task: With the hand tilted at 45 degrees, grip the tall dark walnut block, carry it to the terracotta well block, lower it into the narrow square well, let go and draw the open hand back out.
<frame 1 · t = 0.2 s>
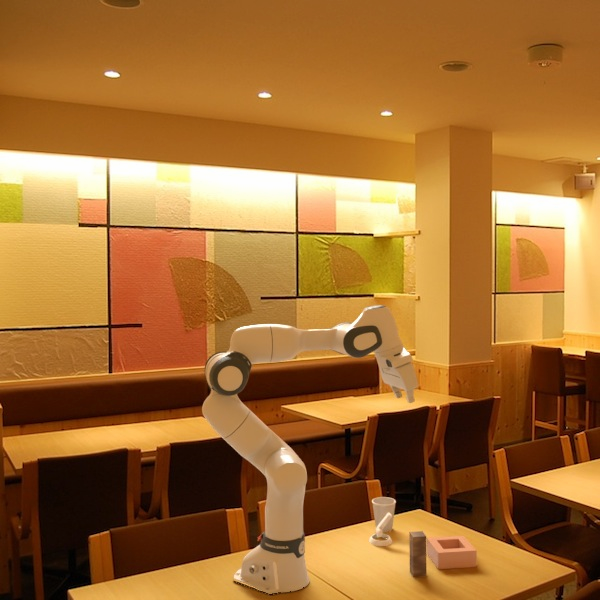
hand: (405, 399, 210), 51 cm above the table, tool tilted 20°, fingers open, 8 cm apart
white lever: (380, 542, 233), on the table
terracotta well: (451, 559, 218), on the table
walnut block: (418, 573, 208), on the table
dixie cup: (384, 529, 244), on the table
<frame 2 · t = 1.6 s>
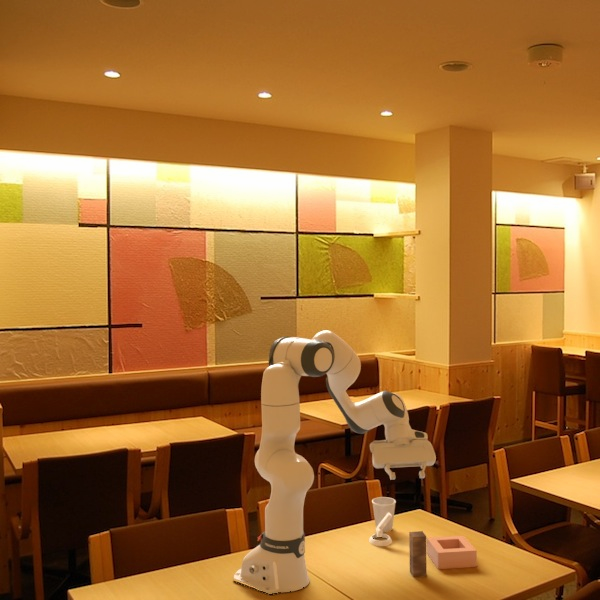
hand: (407, 478, 220), 25 cm above the table, tool tilted 45°, fingers open, 8 cm apart
nothing on the table moved.
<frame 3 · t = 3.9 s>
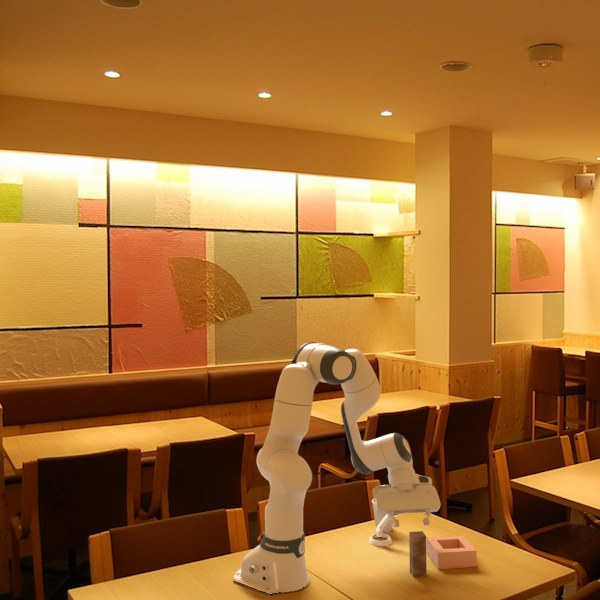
hand: (411, 525, 214), 12 cm above the table, tool tilted 45°, fingers open, 8 cm apart
nothing on the table moved.
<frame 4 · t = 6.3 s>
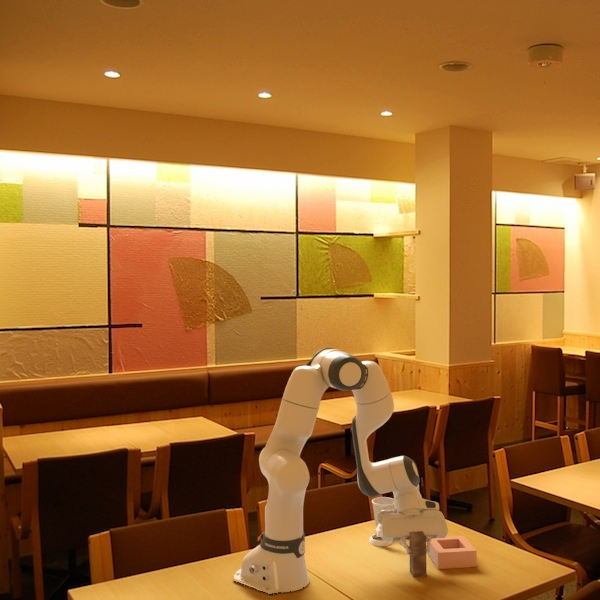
hand: (418, 552, 207), 7 cm above the table, tool tilted 45°, fingers closed on walnut block, 4 cm apart
walnut block: (418, 573, 208), on the table, touching gripper
everything else where it was.
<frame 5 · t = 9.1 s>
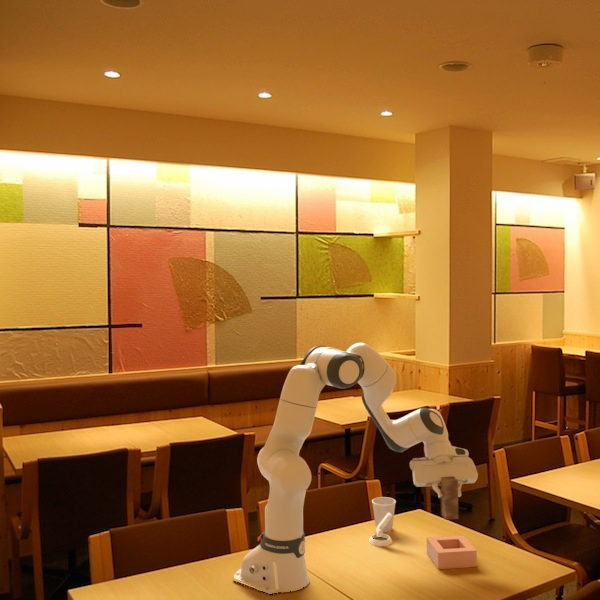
hand: (450, 496, 216), 20 cm above the table, tool tilted 45°, fingers closed on walnut block, 4 cm apart
walnut block: (450, 516, 217), point 14 cm above the table, touching gripper
everything else where it was.
when the fingers open (9 cm above the table, at t = 12.2 s): walnut block drops 1 cm, resting on terracotta well.
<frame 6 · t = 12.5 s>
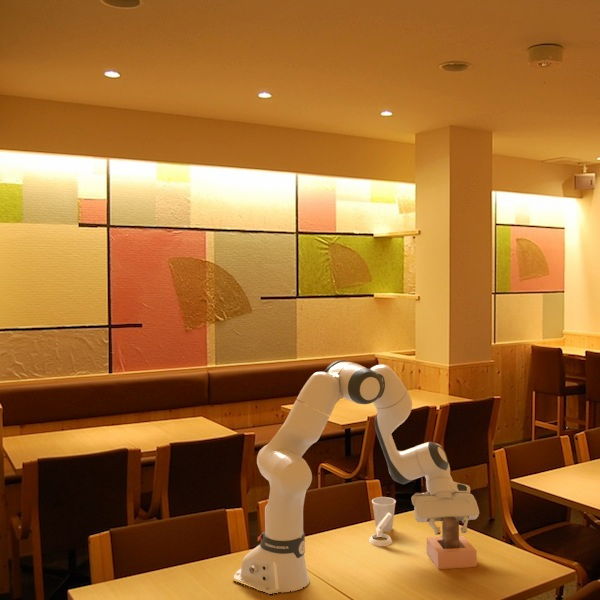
hand: (451, 533, 217), 9 cm above the table, tool tilted 45°, fingers open, 7 cm apart
walnut block: (450, 557, 218), point 1 cm above the table, touching terracotta well
everything else where it was.
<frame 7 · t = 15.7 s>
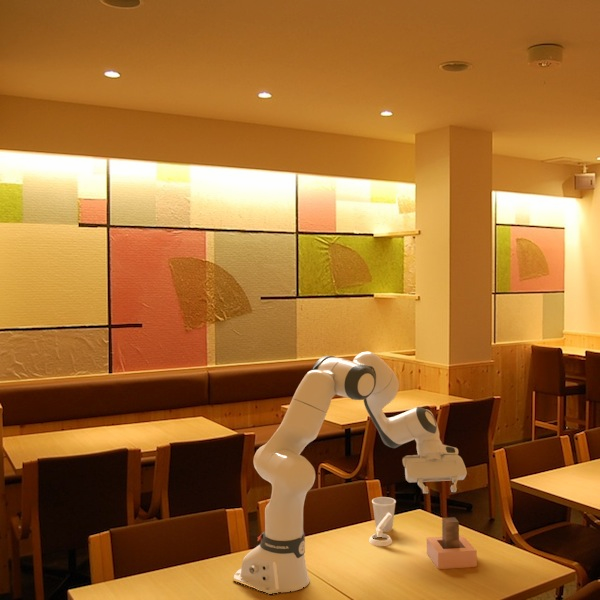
hand: (440, 492, 228), 18 cm above the table, tool tilted 45°, fingers open, 8 cm apart
nothing on the table moved.
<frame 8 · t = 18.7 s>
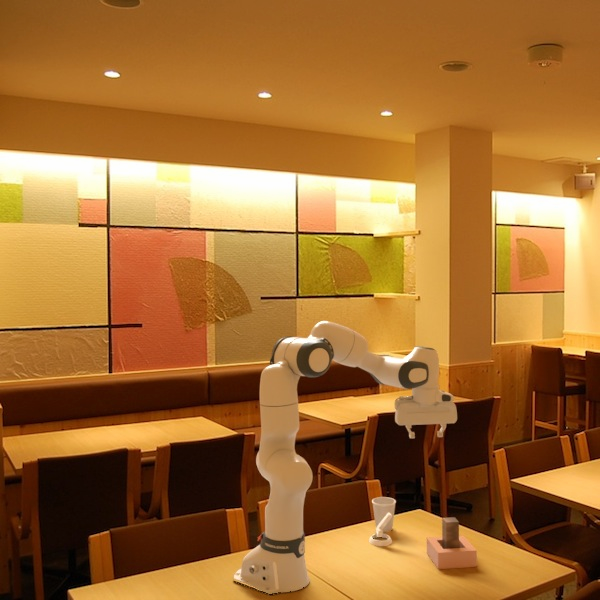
hand: (426, 437, 230), 35 cm above the table, tool pointing down, fingers open, 8 cm apart
nothing on the table moved.
at the end: walnut block 0.1 cm off-centre on the terracotta well, point 0.6 cm above the terracotta well's base; walnut block tilted 0°; the gripper is holding nothing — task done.
